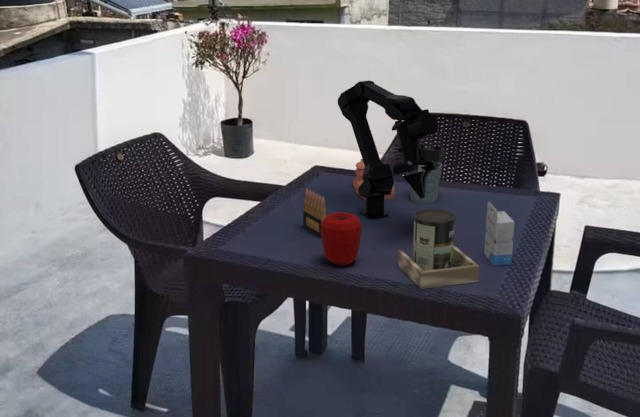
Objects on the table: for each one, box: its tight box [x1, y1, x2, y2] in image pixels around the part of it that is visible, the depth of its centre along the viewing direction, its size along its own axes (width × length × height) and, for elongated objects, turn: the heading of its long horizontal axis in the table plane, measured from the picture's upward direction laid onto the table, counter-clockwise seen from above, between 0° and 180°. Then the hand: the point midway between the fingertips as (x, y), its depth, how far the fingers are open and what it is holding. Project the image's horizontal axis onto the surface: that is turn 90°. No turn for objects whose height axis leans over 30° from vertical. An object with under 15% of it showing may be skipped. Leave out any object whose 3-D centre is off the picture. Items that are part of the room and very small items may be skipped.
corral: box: [397, 245, 481, 290], centre depth 195 cm, size 15×15×4 cm
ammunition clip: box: [302, 187, 327, 239], centre depth 222 cm, size 11×2×12 cm, turn 30°
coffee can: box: [412, 208, 457, 271], centre depth 196 cm, size 10×10×14 cm
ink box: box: [483, 200, 515, 267], centre depth 201 cm, size 9×5×15 cm, turn 5°
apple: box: [321, 211, 362, 266], centre depth 200 cm, size 10×10×14 cm
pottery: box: [352, 158, 396, 201], centre depth 257 cm, size 18×10×10 cm, turn 20°
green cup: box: [409, 162, 443, 205], centre depth 249 cm, size 10×10×12 cm
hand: (422, 198), depth 215 cm, fingers closed
